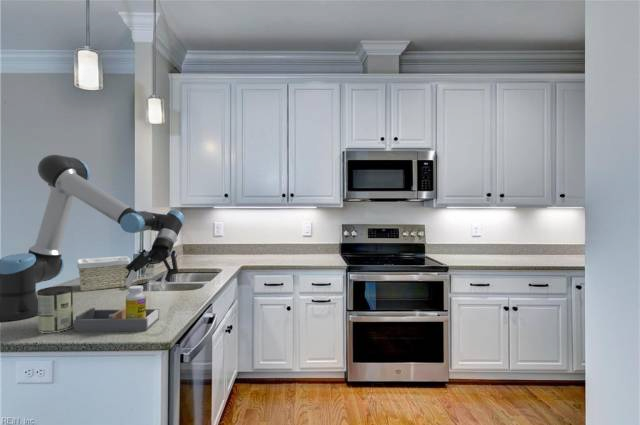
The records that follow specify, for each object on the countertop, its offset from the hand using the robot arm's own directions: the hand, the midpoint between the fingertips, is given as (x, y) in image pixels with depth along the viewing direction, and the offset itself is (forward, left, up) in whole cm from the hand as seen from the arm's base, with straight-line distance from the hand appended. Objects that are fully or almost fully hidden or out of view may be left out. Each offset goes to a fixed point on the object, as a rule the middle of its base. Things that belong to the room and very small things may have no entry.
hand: (144, 287), depth 144 cm
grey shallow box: (-7, -4, -13) cm, 15 cm away
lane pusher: (-9, -4, -12) cm, 15 cm away
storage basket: (-43, +62, -13) cm, 77 cm away
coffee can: (-27, -7, -13) cm, 31 cm away
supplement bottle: (-2, -4, -12) cm, 13 cm away
